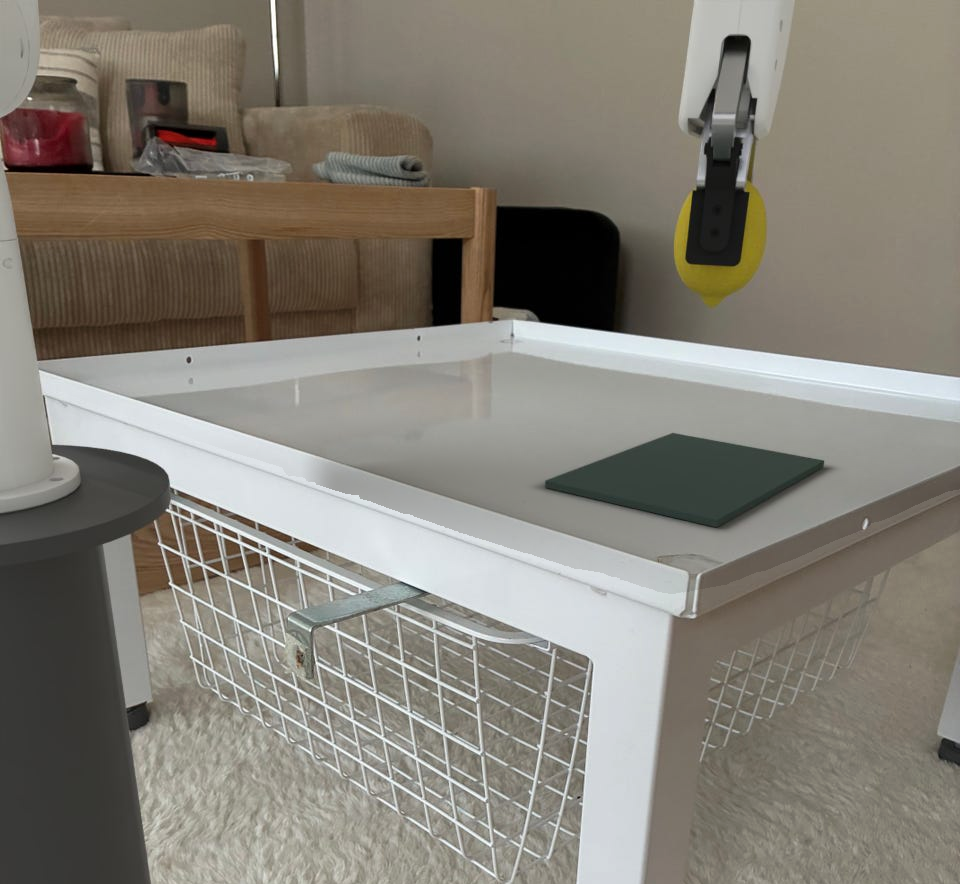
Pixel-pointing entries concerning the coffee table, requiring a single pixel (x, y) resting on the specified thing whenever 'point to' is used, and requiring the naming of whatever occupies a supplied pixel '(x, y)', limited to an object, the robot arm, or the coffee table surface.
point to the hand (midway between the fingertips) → (716, 258)
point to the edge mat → (688, 478)
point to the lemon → (723, 279)
